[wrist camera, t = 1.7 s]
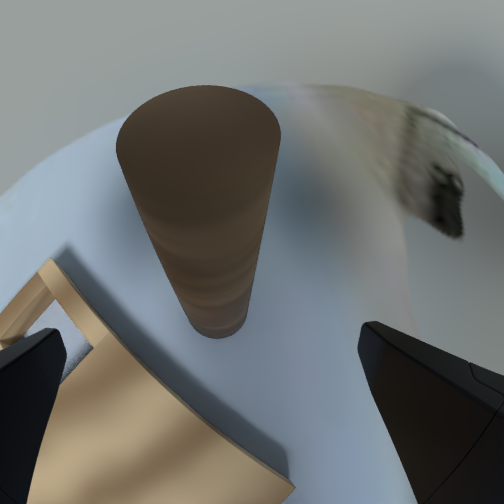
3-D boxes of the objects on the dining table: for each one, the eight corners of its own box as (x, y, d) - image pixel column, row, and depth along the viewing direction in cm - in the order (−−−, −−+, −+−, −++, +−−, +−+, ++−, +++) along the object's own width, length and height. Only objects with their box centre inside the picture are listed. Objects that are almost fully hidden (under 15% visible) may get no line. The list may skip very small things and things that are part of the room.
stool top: (289, 479, 15) (295, 487, 14) (107, 615, 7) (100, 626, 5) (62, 268, 21) (50, 257, 19) (-60, 427, 12) (-73, 425, 10)
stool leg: (259, 306, 21) (312, 127, 7) (219, 351, 19) (195, 229, 6) (214, 270, 22) (199, 72, 8) (174, 311, 20) (88, 141, 7)
